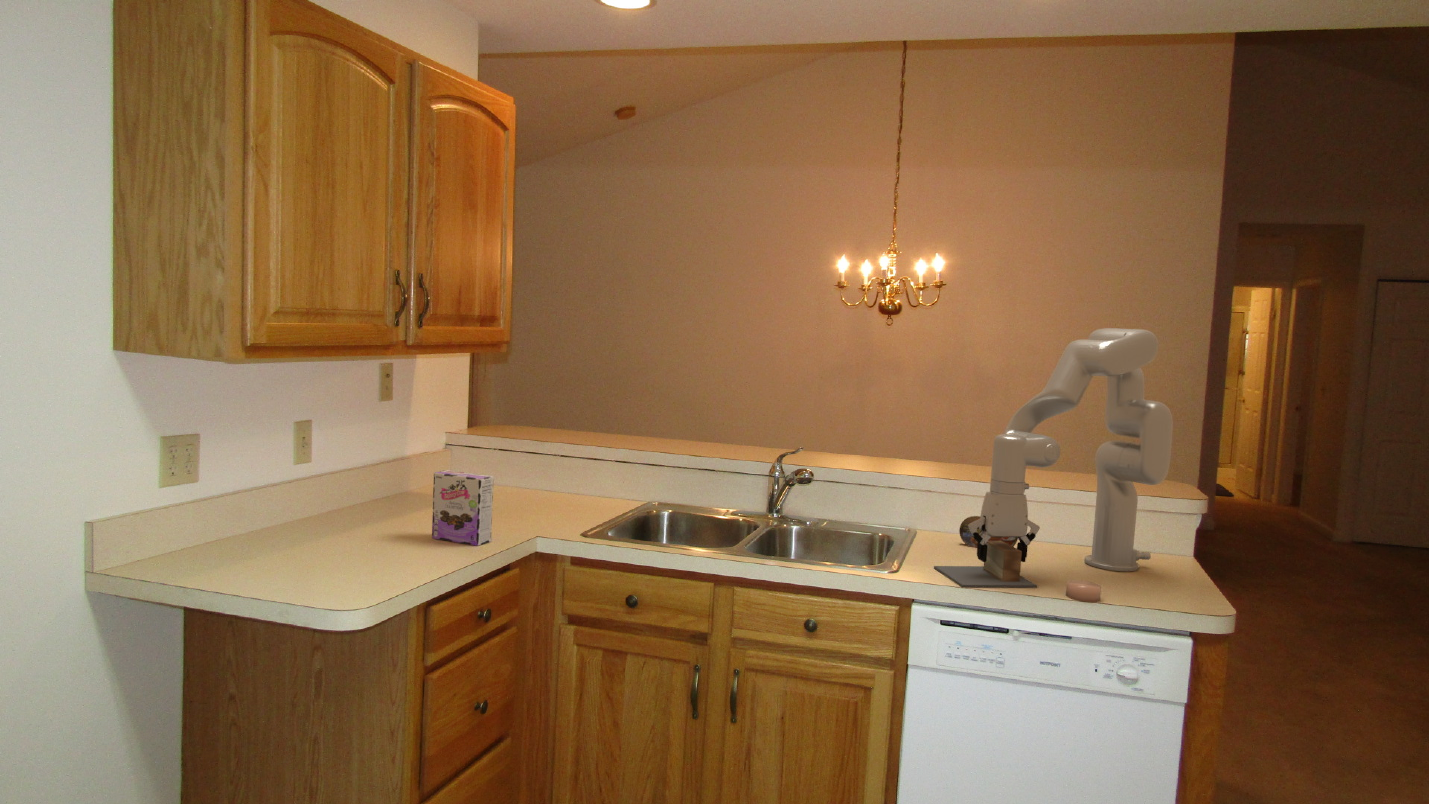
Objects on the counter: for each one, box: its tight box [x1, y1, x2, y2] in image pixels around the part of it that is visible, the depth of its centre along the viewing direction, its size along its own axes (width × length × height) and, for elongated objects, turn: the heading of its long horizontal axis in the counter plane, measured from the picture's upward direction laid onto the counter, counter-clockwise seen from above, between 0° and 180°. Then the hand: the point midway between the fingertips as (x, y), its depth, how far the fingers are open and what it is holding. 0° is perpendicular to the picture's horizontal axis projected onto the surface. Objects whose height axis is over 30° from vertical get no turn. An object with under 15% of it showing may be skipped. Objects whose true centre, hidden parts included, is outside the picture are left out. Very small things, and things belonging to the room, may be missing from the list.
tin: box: [958, 515, 1019, 549], centre depth 246 cm, size 15×3×8 cm, turn 62°
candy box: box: [431, 469, 495, 547], centre depth 225 cm, size 14×6×16 cm, turn 68°
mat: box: [933, 565, 1038, 589], centre depth 215 cm, size 18×16×1 cm
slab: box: [983, 541, 1022, 581], centre depth 216 cm, size 4×10×7 cm, turn 9°
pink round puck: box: [1065, 579, 1102, 603], centre depth 203 cm, size 7×7×3 cm
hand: (1001, 560), depth 216 cm, fingers open, 9 cm apart
